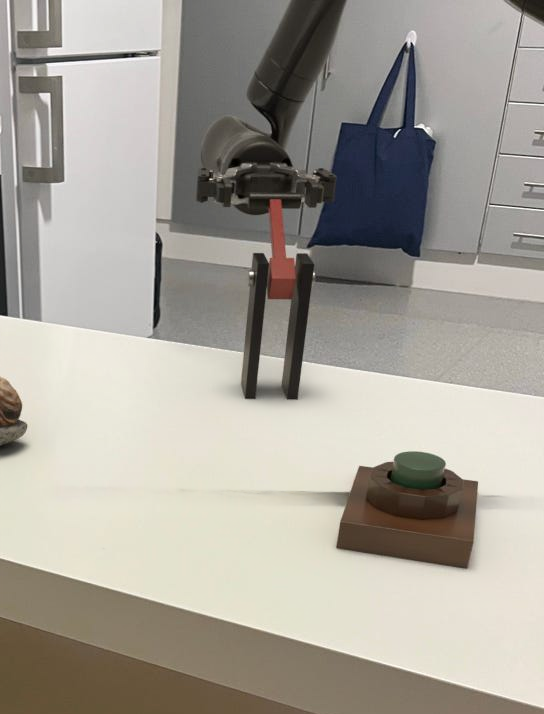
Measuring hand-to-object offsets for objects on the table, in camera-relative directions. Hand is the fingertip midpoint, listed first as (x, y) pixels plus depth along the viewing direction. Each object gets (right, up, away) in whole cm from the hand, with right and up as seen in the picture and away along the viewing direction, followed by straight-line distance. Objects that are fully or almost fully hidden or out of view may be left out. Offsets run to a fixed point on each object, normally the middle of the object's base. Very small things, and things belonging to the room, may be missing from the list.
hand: (271, 196), depth 101 cm
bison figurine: (-30, -26, -9) cm, 41 cm away
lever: (0, -7, -4) cm, 8 cm away
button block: (+5, -36, -25) cm, 44 cm away
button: (+5, -33, -26) cm, 42 cm away
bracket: (-1, -21, -1) cm, 21 cm away
